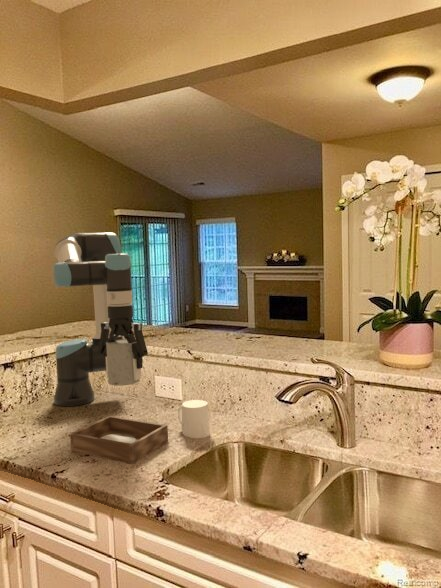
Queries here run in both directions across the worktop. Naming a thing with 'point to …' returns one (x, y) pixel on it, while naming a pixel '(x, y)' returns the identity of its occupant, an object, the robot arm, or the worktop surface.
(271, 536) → the worktop surface
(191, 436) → the mug
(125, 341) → the grey speckled cylinder
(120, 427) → the box
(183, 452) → the worktop surface
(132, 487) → the worktop surface
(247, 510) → the worktop surface
